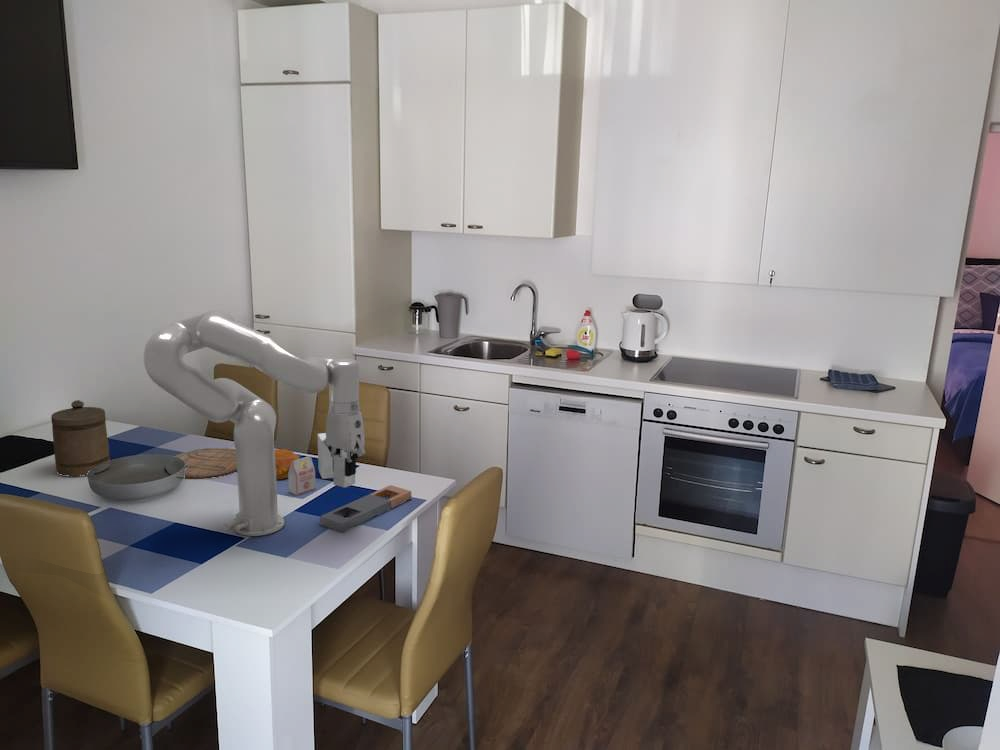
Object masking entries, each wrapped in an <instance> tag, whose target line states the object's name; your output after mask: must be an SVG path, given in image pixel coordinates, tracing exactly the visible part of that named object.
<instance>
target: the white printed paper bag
mask: <svg viewBox="0 0 1000 750" xmlns="http://www.w3.org/2000/svg"><path fill="white" fill-rule="evenodd" d="M287 480H288V482H287V483H288V493H290V492H291V493H290V494H292V493H293V494H292V495H294V494H295V496H299V495H298V494H300V495H302V494H305V493H308V492H311V491H314V490H316V469H315V465H314V463H313V459H312V455H308V456H305V457H301V458H300V459H297V460H294V461H291V466H290V469H289V472H288V478H287ZM313 489H314V490H313ZM310 490H311V491H310ZM307 491H308V492H307ZM304 492H305V493H304ZM301 493H302V494H301Z"/></svg>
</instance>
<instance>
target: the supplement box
mask: <svg viewBox="0 0 1000 750" xmlns="http://www.w3.org/2000/svg"><path fill="white" fill-rule="evenodd" d="M325 439H326V432H324V433H323V432H322V433H317V461H318V469H317V470H318V473H319V475H320V476H321V477H320V478H321V479H322V480H323V479H324V480H326V479H333V458H332V457H331V453H330V451H329V449H328V447H327V446H326V445H325V444H324V440H325ZM342 452H346V451H345V450H342ZM342 452H341V453H342Z"/></svg>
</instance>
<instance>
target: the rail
mask: <svg viewBox="0 0 1000 750" xmlns="http://www.w3.org/2000/svg"><path fill="white" fill-rule="evenodd" d="M384 497H386V498H384ZM387 497H390V498H387ZM410 498H411V499H412V490H409V489H405V488H402V487H398V486H396V485H392V484H390V485H388V486H385V487H382V488H381V489H379V490H376V491H374V492H372V493H368V494H367V495H364V496H362V497H360V498H358V499H355V500H353V501H351V502H348V503H347V504H345V505H342V506H340V507H337V508H335V509H333V510H331V511H329V512H326V513H324V514H322V515H320V516H319V526H321V527H324V528H328V529H330V530H333V531H335V532H338V533H341V532H342V533H345V532H346V530H347V531H348V529H349V530H350V528H351V529H353V528H355V527H357V526H359V525H361V524H363V523H365V522H367V521H369V520H368V519H370V518H372V517H374V516H376V515H378V514H380V513H382V514H384V513H386V512H388V511H389V510H388V509H390V510H392V509H394V508H395V507H394V506H396V505H398V504H400V503H402V502H404V501H406V500H408V499H410ZM393 507H394V508H393ZM391 508H392V509H391ZM387 510H388V511H387ZM385 511H386V512H385ZM383 512H384V513H383ZM346 515H349V516H348V518H346ZM380 515H381V514H380ZM344 516H345V517H344ZM350 516H351V517H350ZM378 516H379V515H378ZM376 517H377V516H376ZM374 518H375V517H374ZM372 519H373V518H372ZM366 520H367V521H366ZM370 520H371V519H370ZM364 521H365V522H364ZM362 522H363V523H362ZM360 523H361V524H360ZM358 524H359V525H358ZM356 525H357V526H356ZM354 526H355V527H354ZM352 527H353V528H352ZM344 531H345V532H344Z"/></svg>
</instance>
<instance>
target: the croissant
mask: <svg viewBox="0 0 1000 750" xmlns="http://www.w3.org/2000/svg"><path fill="white" fill-rule="evenodd" d="M297 459H301V458H300V456H298V454H296V453H294V452H293V451H292V450H289V449H286V448H278V449H275V465H276V479H278V480H285V479H288V472H289V469H290V466H291V461H294V460H297ZM284 478H285V479H284Z"/></svg>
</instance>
